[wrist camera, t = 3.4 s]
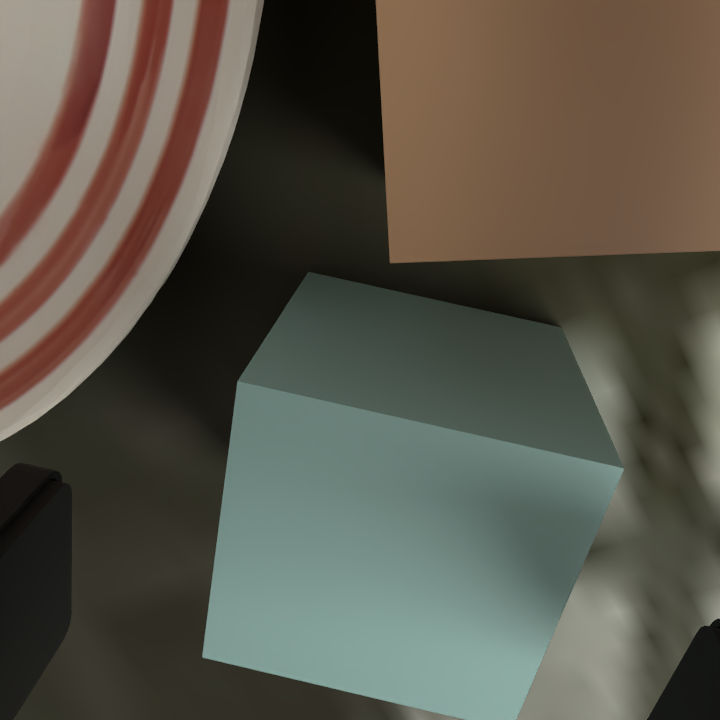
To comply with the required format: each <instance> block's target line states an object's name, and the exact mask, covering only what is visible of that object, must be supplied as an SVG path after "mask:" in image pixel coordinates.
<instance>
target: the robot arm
mask: <svg viewBox="0 0 720 720" xmlns="http://www.w3.org/2000/svg"><path fill="white" fill-rule="evenodd" d="M71 571H72V491H71V487H70V485H69V484H66V483H62V477H61V475H60V473H59V472H58V471H55V470H50V469H46V468H41V467H37V466H32V465H28V464H23V463H18V464H15V465H14V466H13V467H11V468H10V469H9V470H8V471H7V472H6V473H5V474H4V475H3V476H2V477H1V478H0V720H13V719H14V717H15V716H16V714H17V713H18V711H19V709H20V708H21V706H22V705H23V703H24V702H25V700H26V698H27V697H28V695H29V694H30V692H31V690H32V689H33V687H34V686H35V684H36V682H37V681H38V679H39V678H40V676H41V675H42V673H43V671H44V670H45V668H46V667H47V665H48V663H49V662H50V660H51V659H52V657H53V656H54V654H55V652H56V651H57V649H58V648H59V646H60V644H61V643H62V641H63V639H64V637H65V635H66V633H67V631H68V628H69V625H70V620H71ZM647 720H720V619H717V620H715V621H713V622H712V624H711V625H710V626H703V627H701V628H700V629H699V631H698V632H697V634H696V635H695V637H694V639H693V641H692V642H691V644H690V646H689V648H688V649H687V651H686V653H685V654H684V656H683V658H682V660H681V661H680V663H679V665H678V667H677V668H676V670H675V672H674V674H673V675H672V677H671V679H670V681H669V682H668V684H667V686H666V688H665V689H664V691H663V693H662V695H661V696H660V698H659V700H658V702H657V703H656V705H655V707H654V709H653V710H652V712H651V714H650V716H649V717H648V719H647Z"/></svg>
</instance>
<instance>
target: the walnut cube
mask: <svg viewBox="0 0 720 720" xmlns="http://www.w3.org/2000/svg"><path fill="white" fill-rule="evenodd" d="M376 14H377V32H378V51H379V70H380V88H381V107H382V125H383V144H384V162H385V181H386V200H387V218H388V237H389V255H390V263H409V262H435V261H461V260H487V259H513V258H539V257H565V256H592V255H618V254H644V253H670V252H696V251H720V0H376Z"/></svg>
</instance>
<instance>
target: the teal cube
mask: <svg viewBox="0 0 720 720" xmlns="http://www.w3.org/2000/svg"><path fill="white" fill-rule="evenodd" d="M623 470H624V467H623V465H622V462H621V460H620V458H619V456H618V453H617V451H616V449H615V447H614V444H613V442H612V440H611V438H610V435H609V433H608V431H607V429H606V426H605V424H604V422H603V420H602V417H601V415H600V413H599V411H598V408H597V406H596V404H595V402H594V400H593V397H592V395H591V393H590V391H589V388H588V386H587V384H586V382H585V379H584V377H583V375H582V373H581V370H580V368H579V366H578V364H577V361H576V359H575V357H574V355H573V352H572V350H571V348H570V346H569V343H568V341H567V339H566V337H565V334H564V332H563V330H562V328H561V327H557V326H552V325H548V324H543V323H539V322H534V321H530V320H525V319H521V318H516V317H512V316H507V315H502V314H498V313H493V312H489V311H484V310H480V309H475V308H471V307H466V306H462V305H457V304H453V303H448V302H444V301H439V300H434V299H430V298H425V297H421V296H416V295H412V294H407V293H403V292H398V291H394V290H389V289H385V288H380V287H376V286H371V285H366V284H362V283H357V282H353V281H348V280H344V279H339V278H335V277H330V276H326V275H321V274H317V273H312V272H308V273H307V275H306V276H305V278H304V279H303V281H302V282H301V284H300V285H299V287H298V289H297V290H296V292H295V293H294V295H293V296H292V298H291V299H290V301H289V302H288V304H287V306H286V307H285V309H284V310H283V312H282V313H281V315H280V316H279V318H278V319H277V321H276V323H275V324H274V326H273V327H272V329H271V330H270V332H269V333H268V335H267V336H266V338H265V340H264V341H263V343H262V344H261V346H260V347H259V349H258V350H257V352H256V353H255V355H254V356H253V358H252V360H251V361H250V363H249V364H248V366H247V367H246V369H245V370H244V372H243V373H242V375H241V377H240V378H239V380H238V381H237V389H236V397H235V405H234V413H233V420H232V428H231V436H230V444H229V452H228V459H227V467H226V475H225V483H224V491H223V498H222V506H221V514H220V522H219V530H218V537H217V545H216V553H215V561H214V569H213V577H212V584H211V592H210V600H209V608H208V616H207V623H206V631H205V639H204V647H203V655H202V657H203V658H207V659H211V660H215V661H219V662H224V663H228V664H232V665H236V666H241V667H245V668H249V669H253V670H257V671H262V672H266V673H270V674H274V675H279V676H283V677H287V678H291V679H296V680H300V681H304V682H308V683H312V684H317V685H321V686H325V687H329V688H334V689H338V690H342V691H346V692H350V693H355V694H359V695H363V696H367V697H372V698H376V699H380V700H384V701H388V702H393V703H397V704H401V705H405V706H410V707H414V708H418V709H422V710H426V711H431V712H435V713H439V714H443V715H448V716H452V717H456V718H460V719H465V720H516V719H517V717H518V715H519V712H520V710H521V708H522V705H523V703H524V701H525V698H526V696H527V694H528V691H529V689H530V687H531V684H532V682H533V680H534V677H535V675H536V673H537V670H538V668H539V666H540V663H541V661H542V659H543V656H544V654H545V652H546V649H547V647H548V645H549V642H550V640H551V638H552V635H553V633H554V631H555V628H556V626H557V624H558V621H559V619H560V617H561V614H562V612H563V610H564V607H565V605H566V603H567V601H568V598H569V596H570V594H571V591H572V589H573V587H574V584H575V582H576V580H577V577H578V575H579V573H580V570H581V568H582V566H583V563H584V561H585V559H586V556H587V554H588V552H589V549H590V547H591V545H592V542H593V540H594V538H595V535H596V533H597V531H598V528H599V526H600V524H601V521H602V519H603V517H604V514H605V512H606V510H607V507H608V505H609V503H610V500H611V498H612V496H613V493H614V491H615V489H616V486H617V484H618V482H619V479H620V477H621V475H622V472H623Z"/></svg>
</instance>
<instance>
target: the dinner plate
mask: <svg viewBox="0 0 720 720" xmlns="http://www.w3.org/2000/svg"><path fill="white" fill-rule="evenodd" d="M263 4H264V0H0V441H2V440H4V439H5V438H7V437H9V436H11V435H13V434H14V433H16V432H17V431H19V430H21V429H22V428H24V427H26V426H27V425H29V424H30V423H32V422H34V421H35V420H37V419H38V418H39V417H41V416H42V415H43V414H45V413H46V412H47V411H49V410H50V409H51V408H52V407H54V406H55V405H56V404H58V403H59V402H60V401H62V400H63V399H64V398H65V397H67V396H68V395H69V394H70V393H71V392H72V391H73V390H74V389H76V388H77V387H78V386H79V385H80V384H81V383H82V382H83V381H84V380H85V379H86V378H87V377H88V376H89V375H90V374H92V373H93V372H94V371H95V370H96V369H97V368H98V367H99V366H100V365H101V364H102V363H103V362H104V361H105V360H106V358H107V357H108V356H109V355H110V354H111V353H112V352H113V351H114V349H115V348H116V347H117V346H118V345H119V344H120V343H121V342H122V340H123V339H124V338H125V337H126V336H127V335H128V334H129V332H130V331H131V330H132V328H133V327H134V325H135V324H136V323H137V321H138V320H139V318H140V317H141V316H142V314H143V313H144V311H145V310H146V309H147V308H148V306H149V305H150V304H151V302H152V301H153V299H154V297H155V295H156V294H157V292H158V291H159V289H160V288H161V287H162V286H163V284H164V283H165V282H166V280H167V278H168V277H169V275H170V273H171V272H172V270H173V269H174V267H175V265H176V264H177V262H178V260H179V258H180V256H181V254H182V252H183V250H184V248H185V247H186V245H187V243H188V241H189V239H190V237H191V235H192V233H193V231H194V229H195V226H196V224H197V222H198V220H199V218H200V216H201V214H202V212H203V210H204V208H205V205H206V203H207V201H208V199H209V196H210V194H211V191H212V189H213V186H214V184H215V182H216V179H217V177H218V174H219V172H220V169H221V167H222V165H223V162H224V160H225V157H226V154H227V151H228V148H229V145H230V142H231V139H232V136H233V133H234V130H235V127H236V124H237V120H238V117H239V114H240V110H241V106H242V103H243V99H244V96H245V92H246V88H247V85H248V80H249V76H250V72H251V67H252V63H253V59H254V54H255V48H256V43H257V37H258V32H259V26H260V21H261V15H262V10H263Z"/></svg>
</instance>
